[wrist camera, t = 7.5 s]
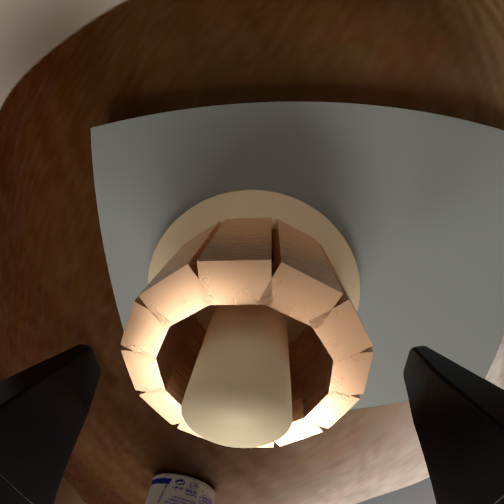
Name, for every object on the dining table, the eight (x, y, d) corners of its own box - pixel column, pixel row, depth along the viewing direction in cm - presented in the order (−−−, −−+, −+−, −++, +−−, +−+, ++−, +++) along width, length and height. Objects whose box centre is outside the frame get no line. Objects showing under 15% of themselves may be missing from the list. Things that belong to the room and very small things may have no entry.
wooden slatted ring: (344, 216, 9) (388, 255, 6) (332, 367, 11) (348, 442, 8) (156, 222, 10) (96, 262, 6) (183, 367, 12) (156, 437, 8)
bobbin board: (520, 140, 9) (624, 155, 2) (475, 369, 14) (525, 445, 7) (105, 129, 11) (-32, 128, 4) (156, 391, 15) (113, 492, 8)
